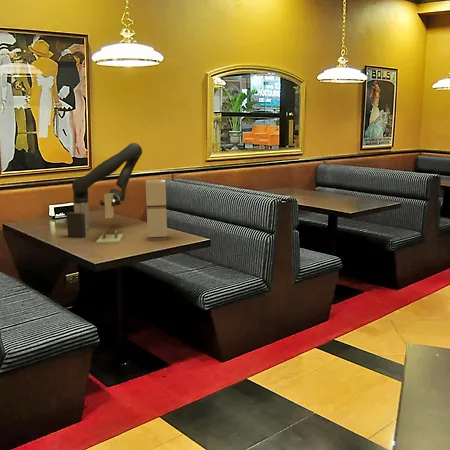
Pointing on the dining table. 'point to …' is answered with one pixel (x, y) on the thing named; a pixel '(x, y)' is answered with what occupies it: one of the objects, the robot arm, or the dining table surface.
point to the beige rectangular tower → (156, 209)
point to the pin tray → (110, 237)
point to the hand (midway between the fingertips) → (108, 204)
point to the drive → (108, 205)
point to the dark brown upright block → (76, 224)
